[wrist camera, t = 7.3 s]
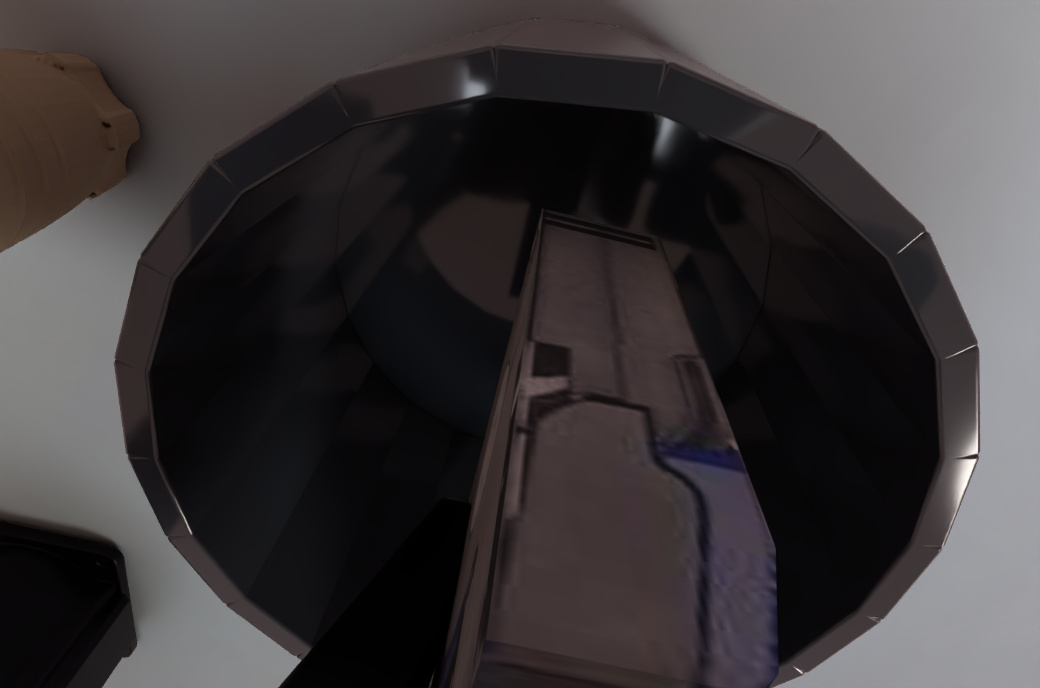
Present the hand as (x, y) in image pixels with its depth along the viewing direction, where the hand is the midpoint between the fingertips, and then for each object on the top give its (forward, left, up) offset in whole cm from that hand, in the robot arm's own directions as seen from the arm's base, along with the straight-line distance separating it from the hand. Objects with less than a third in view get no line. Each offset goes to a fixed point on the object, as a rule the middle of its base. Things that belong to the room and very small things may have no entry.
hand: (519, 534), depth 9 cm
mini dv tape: (0, 0, -2) cm, 2 cm away
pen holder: (0, 0, -9) cm, 9 cm away
